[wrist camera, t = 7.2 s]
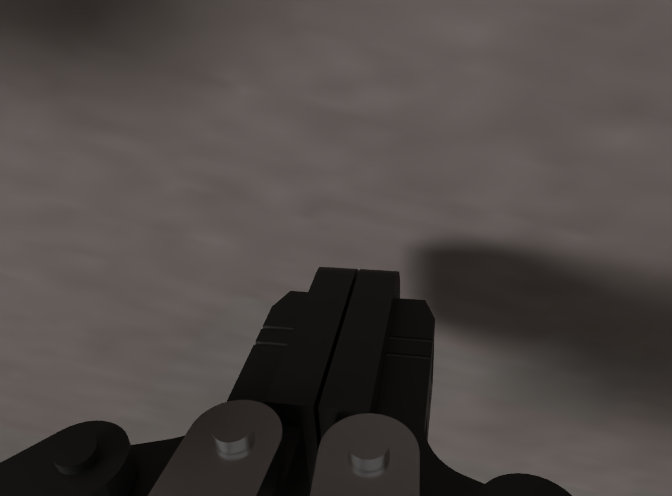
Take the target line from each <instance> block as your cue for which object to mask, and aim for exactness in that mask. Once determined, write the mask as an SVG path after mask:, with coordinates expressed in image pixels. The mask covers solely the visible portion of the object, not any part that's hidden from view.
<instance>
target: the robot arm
mask: <svg viewBox="0 0 672 496" xmlns="http://www.w3.org/2000/svg"><path fill="white" fill-rule="evenodd" d="M434 330H435V318H434V316H433V314H432V312H431V311H430V309H429V307H428V305H427V303H426V301H425V300H414V299H400V275H399V272H398V271H382V270H365V269H360V270H358V269H346V268H330V267H319V268H318V270H317V272H316V275H315V277H314V280H313V282H312V285H311V287H310V289H309V292H297V291H290V292H289V293H288V294H286V295H285V296H284V297H283V298H282V299H281V300H279V301H278V302H277V303H276V304H275V305H273V306H272V308H271V310H270V312H269V314H268V316H267V318H266V320H265V323H264V325H263V329H261V331H260V333H259V335H258V337H257V339H256V344H255V345H254V346H253V348H252V350H251V352H250V354H249V356H248V358H247V360H246V362H245V364H244V367H243V369H242V371H241V373H240V375H239V377H238V379H237V381H236V383H235V385H234V387H233V390H232V392H231V394H230V396H229V398H228V400H227V402H225V403H221V404H219V405H217V406H214V407H212V408H211V409H209V410H207V411H206V412H204V413H203V414H202V415H200V416H199V417H198V418H197V419H196V420H195V421H194V423H193V424H192V426H191V427H190V429H189V430H188V432H187V433H186V435H185V436H181V437H178V438H173V439H168V440H162V441H155V442H149V443H142V444H136V445H130V442H129V439H128V436H127V434H126V432H125V431H124V430H123V429H122V428H121V427H119V426H118V425H116V424H113V423H111V422H106V421H88V422H83V423H79V424H76V425H73V426H70V427H68V428H65V429H63V430H61V431H59V432H57V433H56V434H54V435H52V436H50V437H48V438H46V439H44V440H42V441H41V442H39V443H37V444H35V445H33V446H31V447H29V448H27V449H25V450H24V451H22V452H20V453H18V454H16V455H14V456H12V457H10V458H9V459H7V460H5V461H3V462H1V463H0V496H572V495H571V494H569V493H568V492H567V491H566V490H565V489H563V488H562V487H560V486H559V485H557V484H555V483H553V482H551V481H549V480H547V479H544V478H542V477H539V476H535V475H530V474H520V473H516V474H507V475H502V476H499V477H496V478H494V479H492V480H490V481H489V482H487V483H486V484H483V483H481V482H478V481H476V480H474V479H471V478H469V477H467V476H464V475H462V474H460V473H458V472H456V471H454V470H453V469H451V468H450V467H448V466H447V465H445V464H444V463H443V462H442V461H441V460H440V459H439V458H438V457H437V456H436V455H435V454H434V452H433V451H432V449H431V447H430V446H429V444H428V429H429V418H430V406H431V395H432V384H433V359H434Z"/></svg>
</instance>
